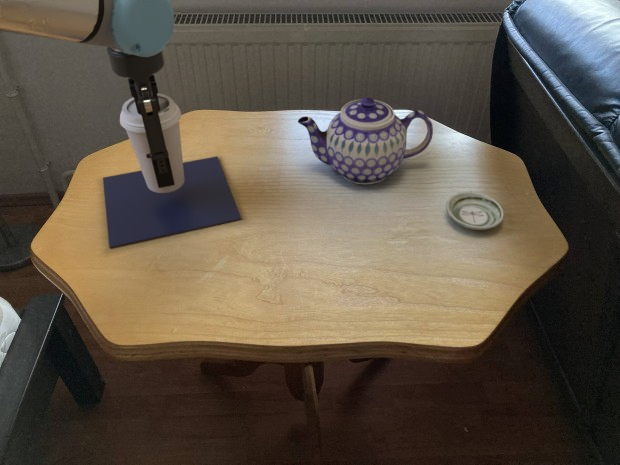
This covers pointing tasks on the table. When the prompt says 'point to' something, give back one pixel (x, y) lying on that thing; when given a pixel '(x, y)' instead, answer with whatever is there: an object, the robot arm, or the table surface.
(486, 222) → the saucer
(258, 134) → the table surface
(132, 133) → the coffee cup
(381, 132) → the teapot
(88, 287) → the table surface
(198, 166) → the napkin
